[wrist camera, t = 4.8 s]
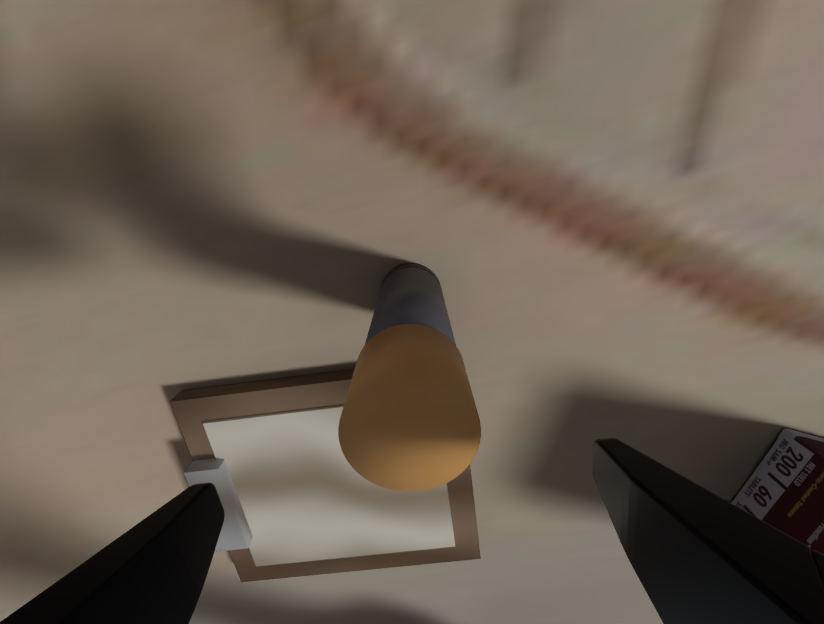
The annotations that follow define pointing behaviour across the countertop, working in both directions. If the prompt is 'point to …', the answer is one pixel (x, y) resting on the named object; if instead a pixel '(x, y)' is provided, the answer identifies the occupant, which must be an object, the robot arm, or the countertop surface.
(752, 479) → the supplement box
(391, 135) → the countertop surface
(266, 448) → the clipboard
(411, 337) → the marker
